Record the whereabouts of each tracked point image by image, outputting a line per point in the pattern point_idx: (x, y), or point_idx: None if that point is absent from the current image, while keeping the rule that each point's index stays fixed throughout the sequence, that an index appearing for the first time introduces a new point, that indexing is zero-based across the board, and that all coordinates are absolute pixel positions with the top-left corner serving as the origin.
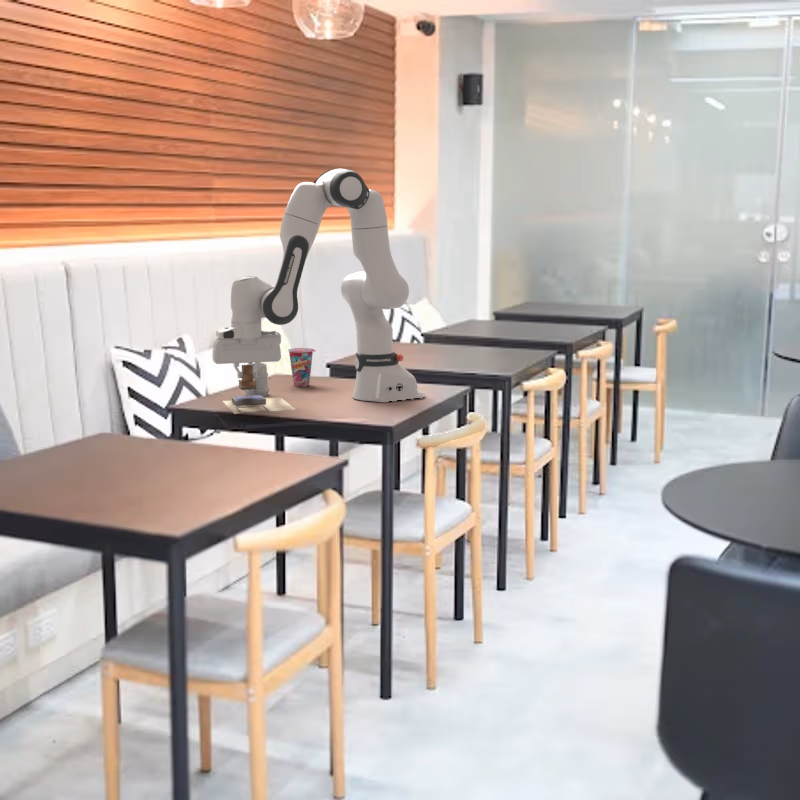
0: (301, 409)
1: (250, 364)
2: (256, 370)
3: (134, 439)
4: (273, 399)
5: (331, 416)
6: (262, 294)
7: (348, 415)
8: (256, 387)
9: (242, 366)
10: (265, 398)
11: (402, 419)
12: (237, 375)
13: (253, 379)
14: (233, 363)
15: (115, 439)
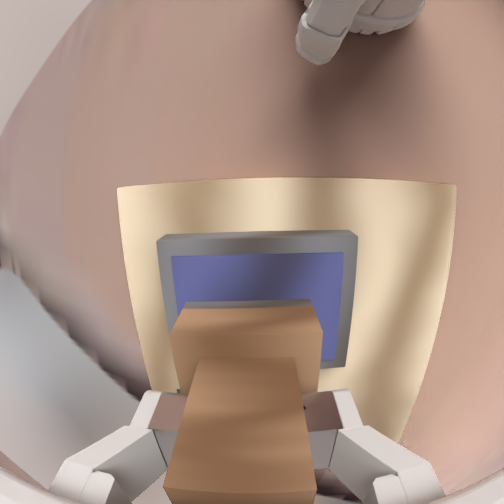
0: (435, 397)
1: (308, 492)
2: (345, 476)
3: (33, 482)
4: (413, 234)
5: (437, 468)
6: None
7: (469, 457)
8: (363, 5)
9: (179, 501)
10: (382, 185)
11: None
12: (143, 404)
13: (318, 353)
14: (56, 488)
15: (10, 467)
